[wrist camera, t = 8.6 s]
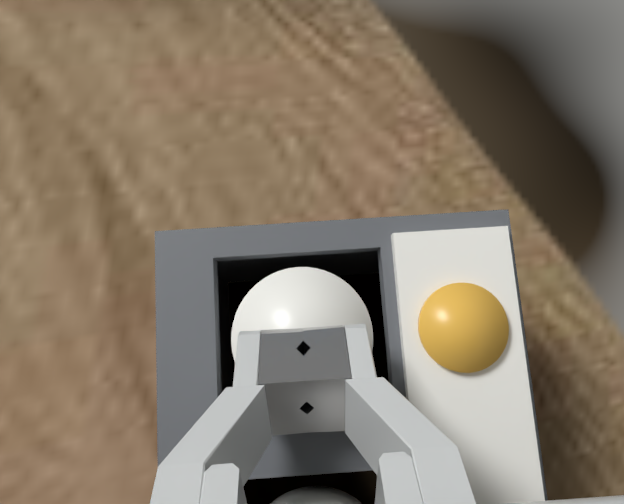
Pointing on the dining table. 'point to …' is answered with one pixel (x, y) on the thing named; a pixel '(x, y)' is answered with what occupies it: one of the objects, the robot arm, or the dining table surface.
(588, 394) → the dining table surface
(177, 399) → the button console
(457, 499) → the robot arm
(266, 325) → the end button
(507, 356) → the pattern card
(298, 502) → the middle button
